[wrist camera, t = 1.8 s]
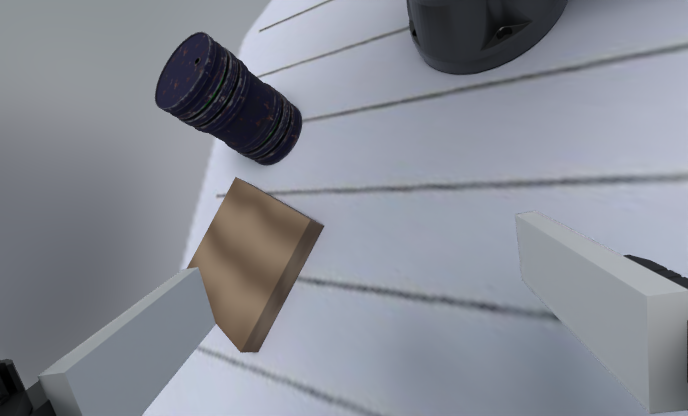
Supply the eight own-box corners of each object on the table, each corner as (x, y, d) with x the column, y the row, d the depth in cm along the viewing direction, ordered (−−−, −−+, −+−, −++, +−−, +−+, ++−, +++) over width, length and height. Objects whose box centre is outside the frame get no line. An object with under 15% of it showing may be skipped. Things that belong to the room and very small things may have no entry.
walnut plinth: (249, 183, 50) (235, 177, 48) (323, 226, 40) (310, 219, 38) (196, 283, 49) (180, 281, 47) (257, 352, 39) (240, 352, 37)
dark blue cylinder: (246, 171, 51) (145, 120, 39) (256, 114, 54) (166, 50, 42) (298, 158, 46) (199, 94, 34) (306, 95, 49) (218, 16, 37)
